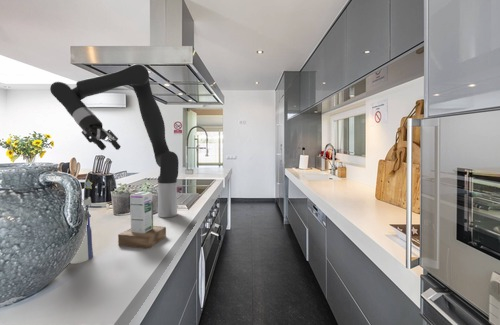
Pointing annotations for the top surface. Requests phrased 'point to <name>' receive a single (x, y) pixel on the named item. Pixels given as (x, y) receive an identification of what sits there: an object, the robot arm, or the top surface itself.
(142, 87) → the robot arm
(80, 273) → the top surface
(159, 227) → the walnut block
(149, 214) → the syrup box
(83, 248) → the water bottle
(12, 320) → the top surface
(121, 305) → the top surface
